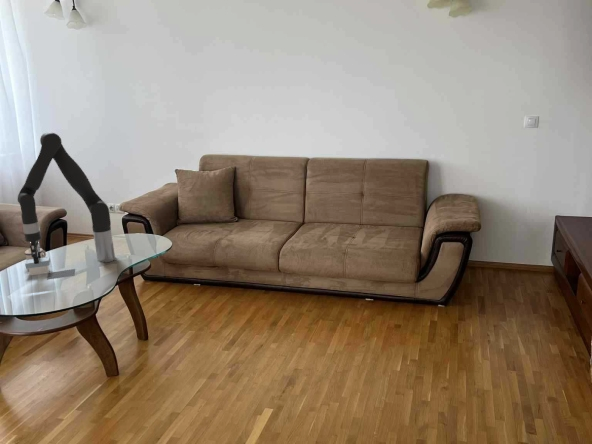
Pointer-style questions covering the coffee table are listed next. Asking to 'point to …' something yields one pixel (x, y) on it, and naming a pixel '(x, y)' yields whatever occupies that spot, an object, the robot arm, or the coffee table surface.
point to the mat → (61, 274)
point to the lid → (42, 262)
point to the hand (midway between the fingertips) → (37, 260)
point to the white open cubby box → (39, 270)
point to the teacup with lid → (29, 256)
